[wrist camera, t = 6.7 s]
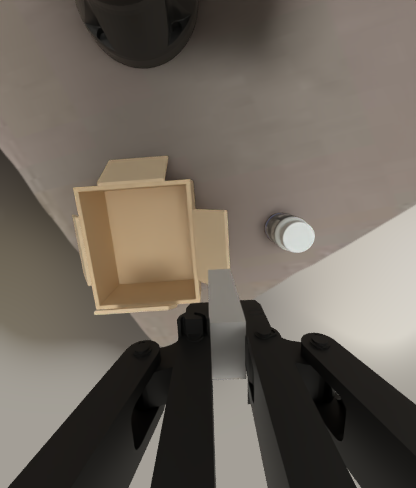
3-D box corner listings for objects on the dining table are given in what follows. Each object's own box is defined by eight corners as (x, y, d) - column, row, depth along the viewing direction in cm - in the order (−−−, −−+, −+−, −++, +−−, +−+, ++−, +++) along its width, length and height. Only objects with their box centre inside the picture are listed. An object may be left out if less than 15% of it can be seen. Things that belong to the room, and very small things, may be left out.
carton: (101, 188, 36) (72, 187, 29) (193, 181, 36) (189, 179, 28) (117, 286, 40) (95, 309, 32) (201, 280, 40) (200, 302, 32)
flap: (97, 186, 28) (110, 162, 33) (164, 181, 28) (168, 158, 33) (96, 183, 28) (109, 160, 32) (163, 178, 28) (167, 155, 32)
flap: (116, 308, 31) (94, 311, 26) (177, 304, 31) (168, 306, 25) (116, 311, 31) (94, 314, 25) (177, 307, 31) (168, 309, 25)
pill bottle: (298, 217, 38) (324, 224, 29) (287, 245, 39) (309, 260, 30) (270, 208, 37) (288, 214, 29) (260, 237, 38) (274, 250, 30)
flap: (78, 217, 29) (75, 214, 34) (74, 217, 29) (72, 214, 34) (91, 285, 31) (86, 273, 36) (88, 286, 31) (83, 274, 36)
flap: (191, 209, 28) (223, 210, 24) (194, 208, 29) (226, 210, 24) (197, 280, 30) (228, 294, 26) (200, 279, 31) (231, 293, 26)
